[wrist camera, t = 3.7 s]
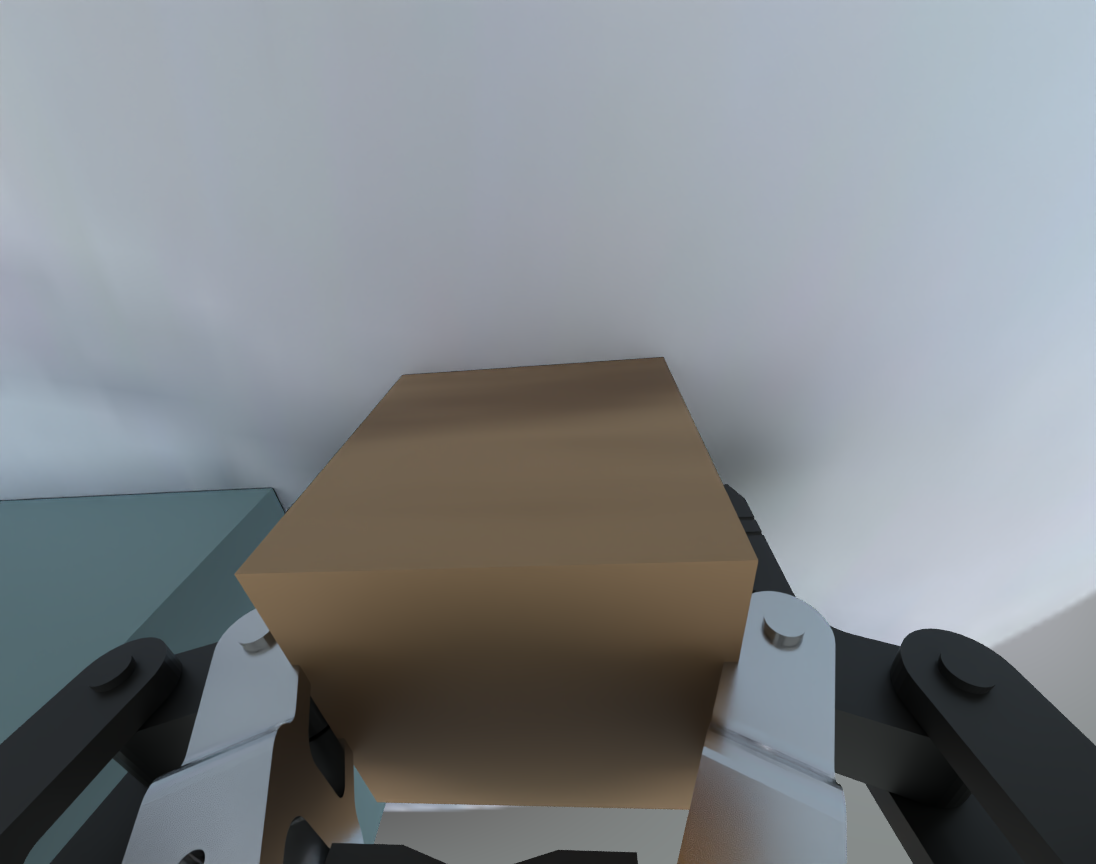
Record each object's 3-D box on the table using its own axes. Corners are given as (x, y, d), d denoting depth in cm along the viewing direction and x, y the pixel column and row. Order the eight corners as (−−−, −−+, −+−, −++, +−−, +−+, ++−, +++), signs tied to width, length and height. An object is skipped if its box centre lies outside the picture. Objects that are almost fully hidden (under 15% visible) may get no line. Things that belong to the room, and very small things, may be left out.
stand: (-100, 505, 14) (-803, 854, 7) (272, 488, 12) (-109, 885, 6) (149, 745, 20) (-67, 1036, 14) (402, 747, 19) (306, 1067, 12)
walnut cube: (402, 375, 10) (235, 574, 5) (663, 357, 10) (758, 559, 5) (453, 560, 13) (376, 802, 8) (656, 554, 13) (709, 810, 8)
